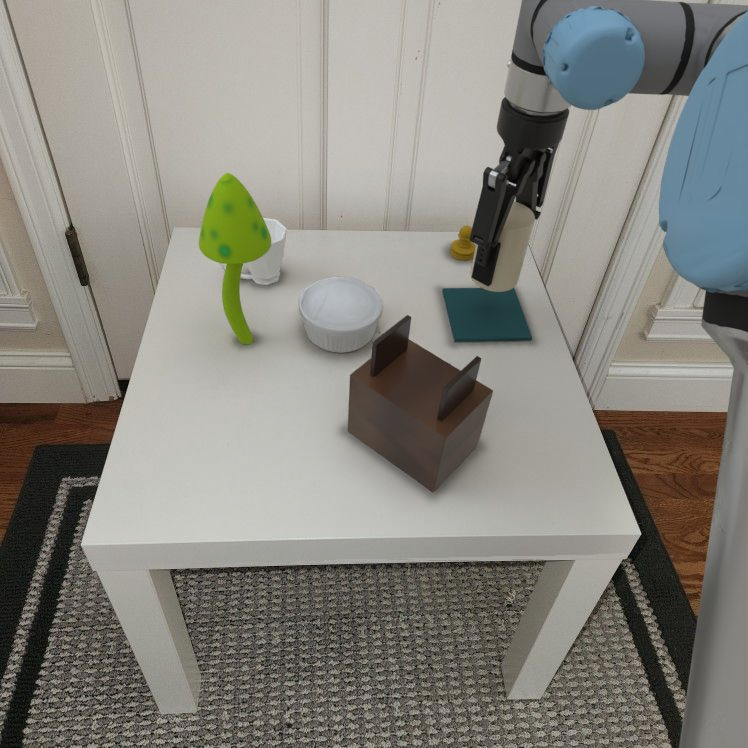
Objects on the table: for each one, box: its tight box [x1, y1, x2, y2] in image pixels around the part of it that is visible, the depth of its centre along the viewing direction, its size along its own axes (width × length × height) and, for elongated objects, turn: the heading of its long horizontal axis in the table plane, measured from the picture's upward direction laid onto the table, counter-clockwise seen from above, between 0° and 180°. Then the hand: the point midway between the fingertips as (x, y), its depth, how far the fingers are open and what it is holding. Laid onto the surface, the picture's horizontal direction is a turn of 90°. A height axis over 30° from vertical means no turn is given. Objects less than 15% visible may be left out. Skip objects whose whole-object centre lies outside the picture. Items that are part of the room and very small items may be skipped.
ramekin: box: [297, 276, 384, 354], centre depth 89 cm, size 11×11×5 cm
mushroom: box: [198, 172, 271, 345], centre depth 80 cm, size 8×8×25 cm
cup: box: [219, 217, 288, 286], centre depth 95 cm, size 7×10×8 cm
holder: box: [347, 314, 494, 493], centre depth 74 cm, size 13×9×15 cm
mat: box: [441, 287, 533, 343], centre depth 95 cm, size 11×11×1 cm
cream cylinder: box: [469, 201, 536, 292], centre depth 87 cm, size 7×7×10 cm
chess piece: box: [449, 225, 476, 262], centre depth 104 cm, size 4×4×5 cm
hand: (496, 268), depth 89 cm, fingers closed on cream cylinder, 7 cm apart
